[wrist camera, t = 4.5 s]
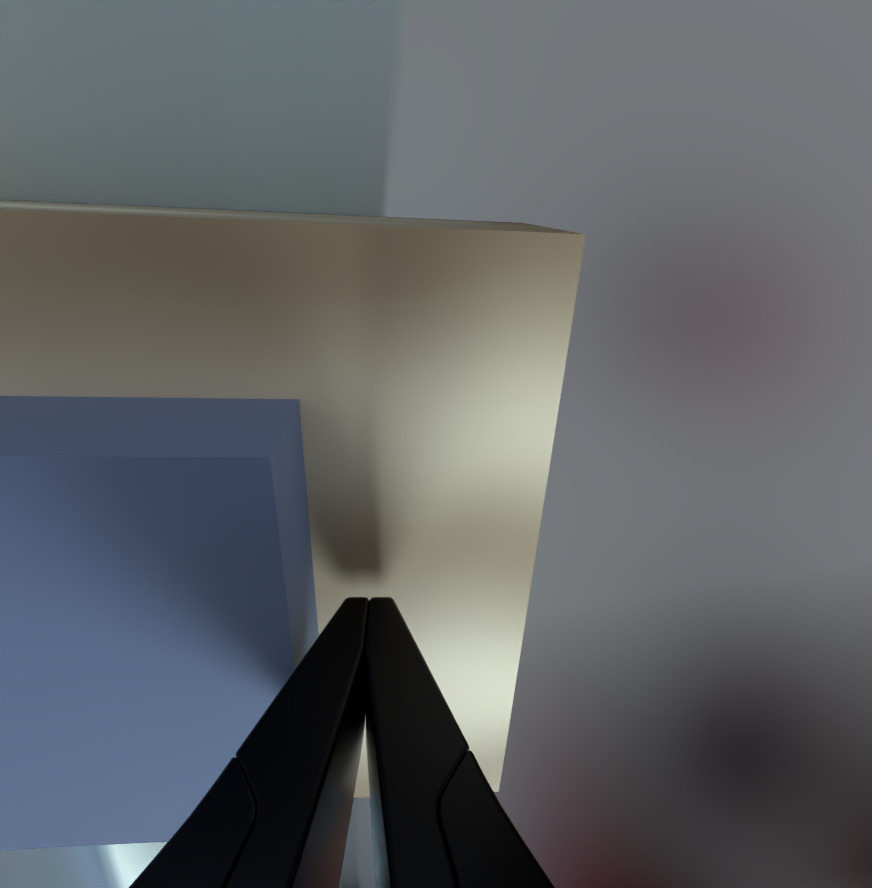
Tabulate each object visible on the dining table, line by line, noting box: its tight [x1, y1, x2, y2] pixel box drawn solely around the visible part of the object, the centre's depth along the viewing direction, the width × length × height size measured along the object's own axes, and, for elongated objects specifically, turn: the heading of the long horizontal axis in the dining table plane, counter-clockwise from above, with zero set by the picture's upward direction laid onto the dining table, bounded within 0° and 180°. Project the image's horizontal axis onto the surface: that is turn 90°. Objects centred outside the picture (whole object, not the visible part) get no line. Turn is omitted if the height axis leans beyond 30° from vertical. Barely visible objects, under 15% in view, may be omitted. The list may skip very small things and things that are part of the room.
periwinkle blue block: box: [0, 396, 319, 850], centre depth 9 cm, size 8×6×2 cm
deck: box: [0, 200, 586, 798], centre depth 11 cm, size 13×12×4 cm
